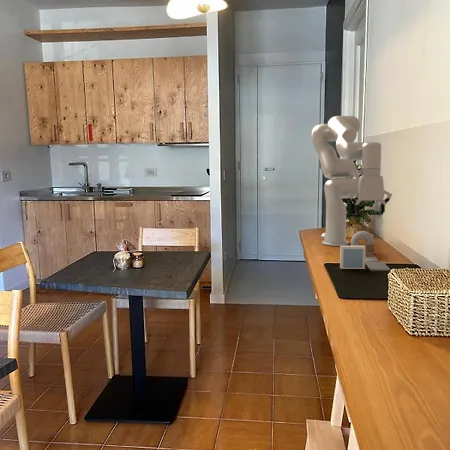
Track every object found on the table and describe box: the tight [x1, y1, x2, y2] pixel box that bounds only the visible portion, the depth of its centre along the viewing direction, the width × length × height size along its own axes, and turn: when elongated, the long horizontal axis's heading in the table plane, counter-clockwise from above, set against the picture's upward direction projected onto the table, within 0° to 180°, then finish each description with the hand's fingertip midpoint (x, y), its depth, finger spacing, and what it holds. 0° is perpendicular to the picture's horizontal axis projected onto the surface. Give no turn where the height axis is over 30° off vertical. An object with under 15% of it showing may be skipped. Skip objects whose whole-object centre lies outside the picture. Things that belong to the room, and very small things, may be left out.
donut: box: [350, 230, 375, 246], centre depth 198 cm, size 10×4×10 cm, turn 81°
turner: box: [363, 242, 379, 262], centre depth 188 cm, size 10×4×6 cm, turn 174°
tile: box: [339, 245, 366, 270], centre depth 173 cm, size 2×9×9 cm, turn 84°
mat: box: [365, 261, 392, 272], centre depth 175 cm, size 12×7×1 cm, turn 174°
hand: (369, 214), depth 188 cm, fingers open, 9 cm apart
